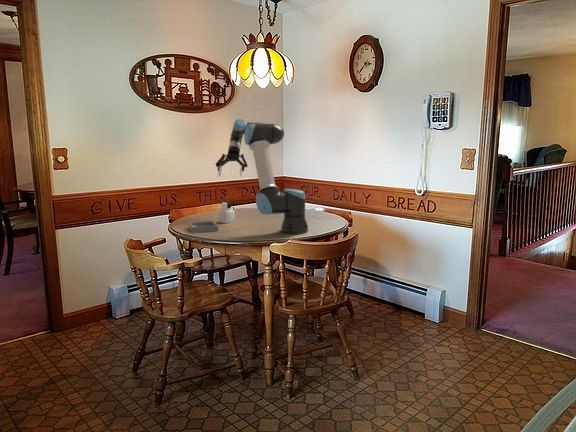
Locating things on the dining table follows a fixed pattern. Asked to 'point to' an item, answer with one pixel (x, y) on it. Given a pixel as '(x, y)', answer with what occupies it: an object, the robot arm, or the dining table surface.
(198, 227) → the pill tray
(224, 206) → the medicine bottle
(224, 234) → the dining table surface
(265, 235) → the dining table surface
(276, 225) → the dining table surface
